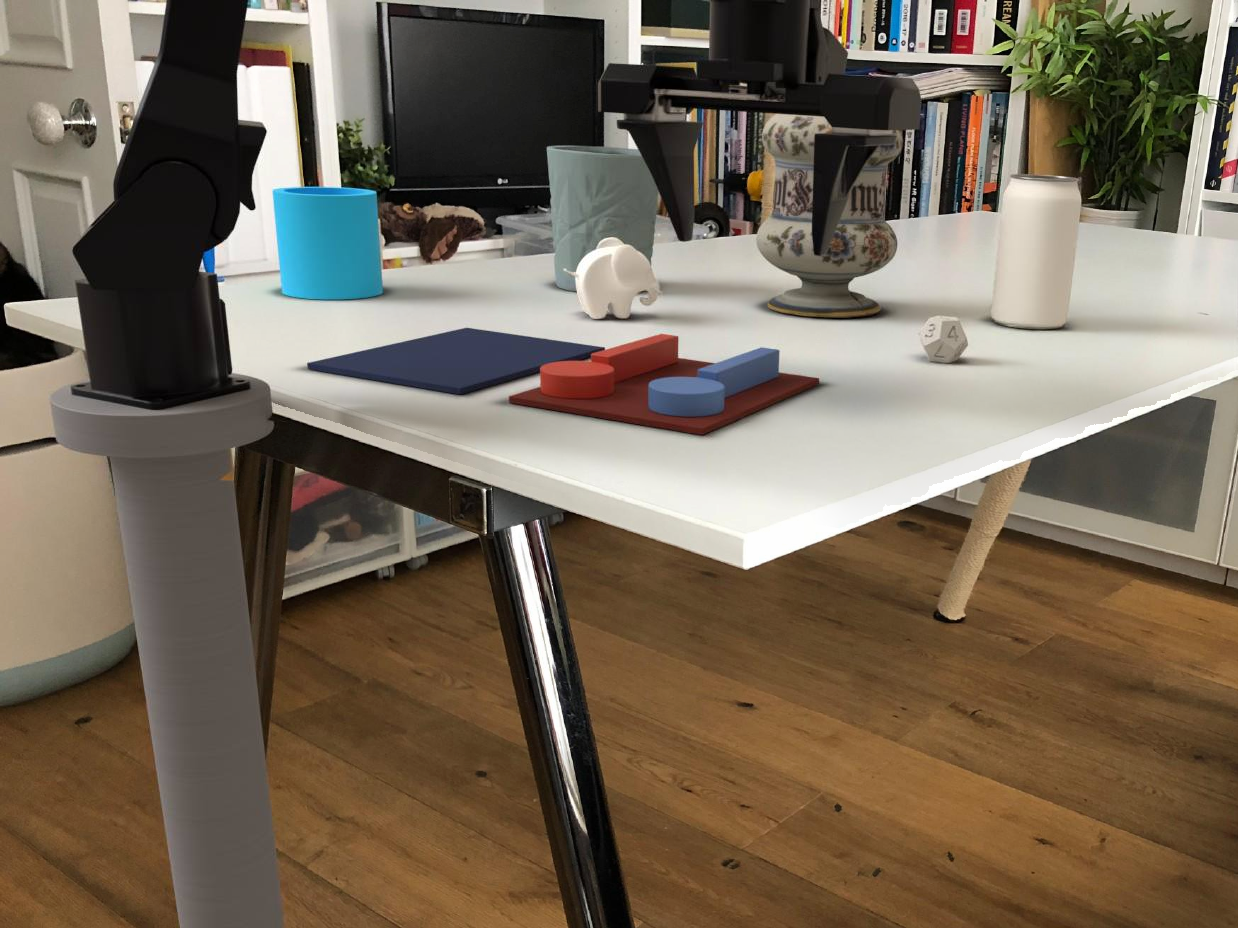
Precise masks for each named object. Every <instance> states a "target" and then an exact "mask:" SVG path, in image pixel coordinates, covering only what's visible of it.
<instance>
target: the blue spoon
mask: <svg viewBox="0 0 1238 928" xmlns="http://www.w3.org/2000/svg"><path fill="white" fill-rule="evenodd" d="M780 352H781V351H780V349H776V348H769V347H761V346H760V347H758V348H755V349H752V350H750V351H747V352H744V353H741V354H738V355H735V356H732V357H729V358H727V359H724V360H721V361H718V362H714V363H715V364H712V365H709V366H706V367H703V368H700V369H698V378H697V377H667V378H660V379H656V380H653V381H651V382H650V383H649V385H648V407H649V409H650V410H651V411H653V412H656V413H659V414H663V415H668V416H675V417H705V416H711V415H716V414H719V413H721V412H722V411H723V410H724V398H727V397H729V396H732V395H734V394H737V393H739V392H742V391H744V390H747V389H749V388H752V387H754V386H757V385H759V384H762V383H764V382H767V381H769V380H772V379H774V378H777V377H778V376H779V372H780Z"/></svg>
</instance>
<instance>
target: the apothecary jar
mask: <svg viewBox="0 0 1238 928" xmlns="http://www.w3.org/2000/svg"><path fill="white" fill-rule="evenodd" d="M817 133H832V127H831V125H830V124H829V123H828V121H827V120H826V119H825V117H821V116H805V115H789V114H774V115H773V116H772V117H770V118H769V120H767V122H766V123H765V125H764V127H763V130H762V134H761V142H762V145H763V147H764V149H765V150H766V152H767V153H768V154H769V155H770V156H772V157H773V160H774V183H773V195H772V206H771V207H772V208H771V215H769V216H768V217H767V218H766V219H765V220H764V221H763V222H762V224H761V225H760V226H759V228H758V230H757V232H756V239H755V242H756V246H757V249H758V251H759V253H760V254H761V255H762V257H763V258H764V259H765V261H767V262H768V263H769V264H771V265H772V266H774V267H775V268H777V269H779V270H781V271H783V272H785V273H787V274H790V275H792V276H795V277H797V278H798V279H799V280H800V281H801V287H798V288H791V289H787V290H786V291H784V292H783V294H780V295H777V296H774V297H771V299H770V300H768V302H767V308H768V309H770V310H772V311H774V312H778V313H782V314H788V315H793V316H794V315H795V316H802V317H814V318H835V319H836V318H843V319H845V318H860V317H868V316H872V315H876V314H878V313H880V311H881V309H882V308H881V305H880V304H879V303H878V302H877V301H875V300H873V299H872V298H870V297H867V296H865V295H864V294H862V293H859V292H856V291H852V290H850V289H849V284H850V283H851V282H852V281H853V280H854V279H856V278H860V277H865V276H867V275H870V274H873V273H876V272H877V271H880V270H881V269H883V268H884V267H886V266H887V265H888V264H889V263H890V262H891V261H892V260H893V259H894V257H895V256H896V253H897V249H898V239H897V235H896V233H895V231H894V229H893V228H892V227H891V225H890V224H889V223H888V222H887V221H886V220H885V219H886V216H885V215H886V187H887V174H888V165H889V164H890V163H891V162H893V161H894V160H895V159H897V157H898V156H899V155H900V153H901V152H902V149H903V146H904V137H903V134H902V130H892V135H897V138H896V141H895V143H894V144H893V145H881V146H880V147H879V148H878V149H877V150H876V152H875V153H874V154H873V155H872V156H871V158H870V159H869V160H868V161H867V163H866V164H865V166H864V168H863V169H862V171H861V173H860V175H859V177H858V179H857V181H856V183H855V185H854V187H853V189H852V191H851V193H850V196H849V198H848V201H847V203H846V206H845V208H844V211H843V213H842V216H841V218H840V221H839V223H838V226H837V228H836V231H835V234H834V236H833V239H832V241H831V244H830V246H829V249H828V251H827V253H826V254H825V255H823V256H815V255H814V251H813V241H812V200H813V165H814V135H815V134H817Z"/></svg>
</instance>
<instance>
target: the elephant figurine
mask: <svg viewBox="0 0 1238 928" xmlns="http://www.w3.org/2000/svg"><path fill="white" fill-rule="evenodd" d="M563 270H564V271H566V272H568V273H570V274H572V275H573V276H575V282H576V289H577V291H576V294H577V297H578V300H579V302H580V306H581V308H582V310H583V311H584V313H585V314H586V315H588V316H589V317H590V318H591V319H594V320H600V319H601V320H602V319H604V318H605V317H606V316H607V313H610V314H612V315H614V317H615V318H617V319H622V320H623V319H628V318H629V317H630V315H631V310H632V305H633V301H634V300H635V297H636V296H637V295H638V294H639V293H641V292H644V291H646V292H647V293H648V297H643V296H640V297H639V298H638V299H639V300H638V301H639V302H640V304H642V305H643V306H646V307H649V306H651V305H653V304H654V303H655V302H656V301H657V300H658V297H659V294H664V292H663V291H661V290H660V289H661V287H660V283H659V281H658V279H657V278H656V276H655V274H654V271H653V268H652V264H651V265H650V263H649V261H648V259H647V258H646V257H645V256H644V255H643V254H642V253H640V252H639V251H637V250H636V249H635V248H633V247H632V246H631V245H627V244H626V245H624V243H623V242H622V241H620V240H619V239H617V238H615V237H610V238H605V239H603V240H602V241H600V242H599V244H598V246H597V248H596V250H594V251H592V252H590V253H589V254H587V255H586V256H585V257H584V258H583V259H582V260H581V262H580V263H579V265H578V267H577V270H576V272H569V271H567V270H566V269H563Z"/></svg>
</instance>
